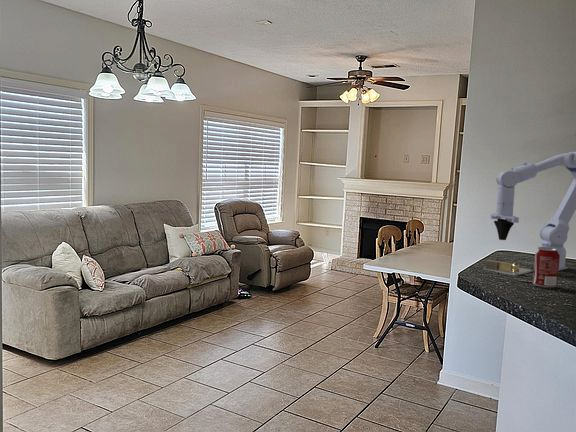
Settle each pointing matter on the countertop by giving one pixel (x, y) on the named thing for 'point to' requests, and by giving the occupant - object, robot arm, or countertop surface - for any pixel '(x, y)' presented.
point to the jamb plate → (521, 271)
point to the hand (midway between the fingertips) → (502, 239)
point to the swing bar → (507, 266)
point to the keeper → (493, 266)
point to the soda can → (546, 267)
